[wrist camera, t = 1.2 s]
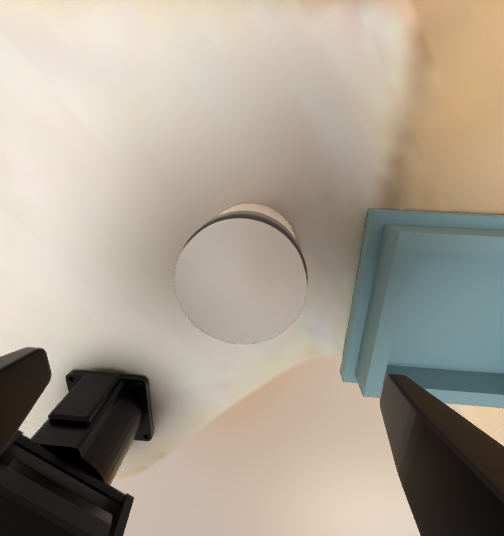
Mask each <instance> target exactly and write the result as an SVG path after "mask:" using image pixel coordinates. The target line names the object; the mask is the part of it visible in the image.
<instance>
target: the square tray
mask: <svg viewBox="0 0 504 536" xmlns="http://www.w3.org/2000/svg"><path fill="white" fill-rule="evenodd" d="M340 373H341V376H342V379H343V382H353V383H358V384H359V387H360V389H361V392H362V394H363V396H365V397H377V398H380V397H381V393H382V389H383V384H384V380H385V377H386V375H388V374H402V375H406V376H407V377H409V378H410V379H411V380H413V381H414V382H415V383H417V384H418V385H420V386H421V387H422V388H424V389H425V390H427V391H428V392H429V393H431V394H432V395H433V396H435V397H436V398H438V399H439V400H440V401H442V402H443V403H449V404H460V405H472V406H484V407H496V408H504V215H498V214H476V213H454V212H432V211H411V210H389V209H369V210H368V216H367V222H366V227H365V233H364V239H363V244H362V250H361V256H360V262H359V267H358V273H357V279H356V284H355V290H354V296H353V301H352V307H351V313H350V318H349V324H348V330H347V336H346V341H345V347H344V353H343V358H342V364H341V370H340Z"/></svg>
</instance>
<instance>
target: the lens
mask: <svg viewBox="0 0 504 536" xmlns="http://www.w3.org/2000/svg"><path fill="white" fill-rule="evenodd" d="M307 278H308V277H307V269H306V265H305V261H304V258H303V255H302V251H301V249H300V246H299V244H298V242H297V241H296V238H295V235H294V232H293V230H292V228H291V226H290V224H289V223H288V222H287V220H286V219H285V218H284V217H283V216H282V215H281V214H279V213H278V212H277V211H275V210H273V209H272V208H270V207H267V206H265V205H261V204H255V203H244V204H238V205H235V206H232V207H230V208H228V209H226V210H224V211H223V212H222V213H220V214H219V215H218V216H217V217H215V218H213V219H212V220H210V221H209V222H207V223H206V224H205V225H204V226H203V227H201V228H200V229H199V230H198V231H197V232H196V233H194V234H193V236H192V237H191V238H190V239H189V240H188V242H187V243H186V245H185V246H184V248H183V250H182V252H181V254H180V256H179V258H178V260H177V264H176V267H175V273H174V286H175V293H176V296H177V300H178V302H179V304H180V307H181V308H182V310H183V312H184V313H185V315H186V316H187V317H188V319H189V320H190V321H191V322H192V323H193V324H194V325H195V326H196V327H197V328H199V329H200V330H201V331H203V332H204V333H206V334H207V335H209V336H211V337H213V338H215V339H218V340H221V341H224V342H228V343H234V344H253V343H259V342H263V341H266V340H269V339H271V338H273V337H275V336H277V335H279V334H280V333H282V332H283V331H285V330H286V329H287V328H288V327H289V326H290V325H291V324H292V323H293V322H294V321H295V319H296V318H297V317H298V315H299V313H300V311H301V310H302V308H303V305H304V302H305V298H306V293H307Z"/></svg>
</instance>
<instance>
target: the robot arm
mask: <svg viewBox="0 0 504 536" xmlns="http://www.w3.org/2000/svg"><path fill="white" fill-rule="evenodd" d="M50 379H51V369H50V365H49V361H48V357H47V354H46V351H45V350H44V349H42V348H34V347H27V348H23V349H20V350H18V351H15V352H12V353H9V354H7V355H4V356H1V357H0V536H123V534H124V530H125V527H126V524H127V520H128V517H129V513H130V510H131V507H132V503H133V500H134V497H132V496H131V495H129V494H124V493H122V492H120V491H119V490H117V489H115V488H114V487H112V486H110V485H111V483H112V481H113V479H114V477H115V475H116V473H117V471H118V469H119V467H120V465H121V463H122V461H123V459H124V457H125V455H126V453H127V451H128V449H129V447H130V446H131V444H132V442H133V440H142V441H150V440H151V439H152V437H153V434H154V432H153V423H152V414H151V405H150V397H149V388H148V381H147V379H146V378H145V377H142V376H132V375H120V374H108V373H96V372H84V371H71V372H69V373H68V374H67V376H66V382H67V386H68V390H69V393H68V394H67V395H66V396H65V397H64V398H63V399H62V400H61V402H60V403H59V404H58V405H57V406H56V407H55V408H54V409H53V410H52V412H51V413H50V414H49V415H48V418H49V419H48V420H47V421H46V422H45V423H44V424H43V425H42V426H41V428H40V429H39V430H38V431H37V432H36V433H35V434H34V435H33V437H32V438H31V439H29V438H28V437H26V436H24V435H23V432H21V431H20V430H18V429H19V427H20V426H21V424H22V423H23V421H24V420H25V418H26V417H27V415H28V414H29V412H30V411H31V409H32V408H33V406H34V404H35V403H36V401H37V400H38V398H39V397H40V395H41V394H42V392H43V391H44V389H45V388H46V386H47V385H48V383H49V381H50ZM139 382H140V383H142V384H140V383H139ZM380 408H381V412H382V416H383V420H384V424H385V427H386V431H387V435H388V439H389V442H390V446H391V450H392V454H393V457H394V461H395V465H396V468H397V472H398V475H399V478H400V481H401V484H402V487H403V489H404V492H405V495H406V497H407V500H408V503H409V506H410V508H411V511H412V514H413V516H414V519H415V521H416V524H417V527H418V529H419V532H420V535H421V536H504V446H502V445H501V444H500V443H498V442H497V441H496V440H494V439H493V438H491V437H490V436H489V435H487V434H486V433H485V432H483V431H482V430H480V429H479V428H478V427H476V426H475V425H473V424H472V423H471V422H469V421H468V420H467V419H465V418H464V417H462V416H461V415H460V414H458V413H457V412H455V411H454V410H453V409H451V408H450V407H449V406H447V405H446V404H444V403H443V402H442V401H440V400H439V399H438V398H436V397H435V396H433V395H432V394H431V393H429V392H428V391H427V390H425V389H424V388H422V387H421V386H420V385H418V384H417V383H415V382H414V381H413V380H411V379H410V378H409V377H407V376H406V375H402V374H388V375H386V377H385V380H384V384H383V389H382V393H381V397H380Z"/></svg>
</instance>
